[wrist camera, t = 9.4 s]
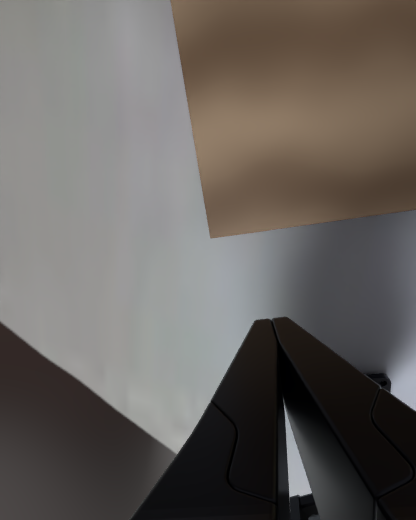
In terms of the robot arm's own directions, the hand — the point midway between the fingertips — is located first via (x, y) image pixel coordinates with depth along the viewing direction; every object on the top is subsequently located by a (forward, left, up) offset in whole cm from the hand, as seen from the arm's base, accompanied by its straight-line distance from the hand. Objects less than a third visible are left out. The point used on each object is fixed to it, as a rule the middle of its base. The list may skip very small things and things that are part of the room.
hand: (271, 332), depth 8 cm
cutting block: (+7, -5, -11) cm, 14 cm away
